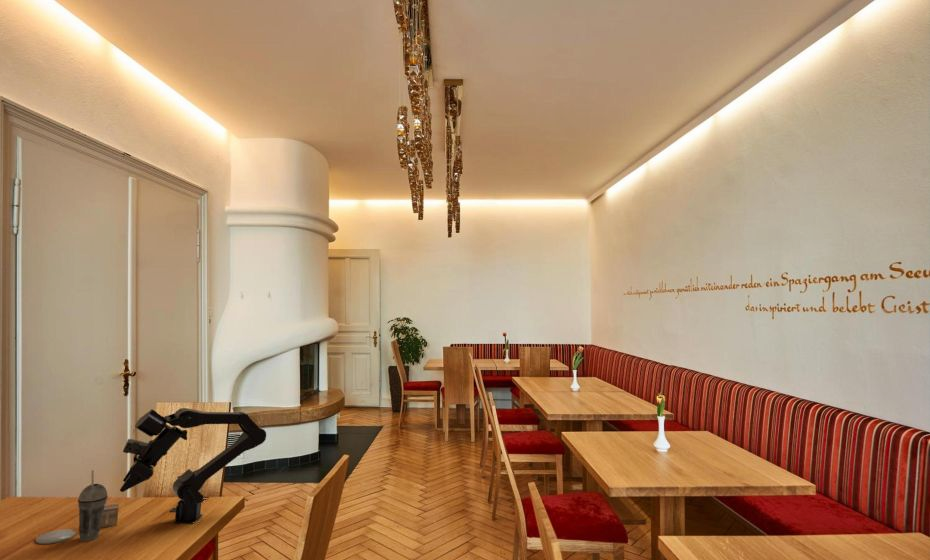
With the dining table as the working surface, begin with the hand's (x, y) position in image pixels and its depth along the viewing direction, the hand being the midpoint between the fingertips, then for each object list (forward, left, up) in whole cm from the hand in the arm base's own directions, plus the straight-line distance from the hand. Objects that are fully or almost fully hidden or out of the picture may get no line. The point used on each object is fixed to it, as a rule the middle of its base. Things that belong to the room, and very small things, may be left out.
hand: (122, 486), depth 155 cm
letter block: (+7, -6, -14) cm, 16 cm away
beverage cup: (+5, +5, -14) cm, 16 cm away
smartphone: (-11, -24, -14) cm, 30 cm away
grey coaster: (+15, +5, -14) cm, 21 cm away
